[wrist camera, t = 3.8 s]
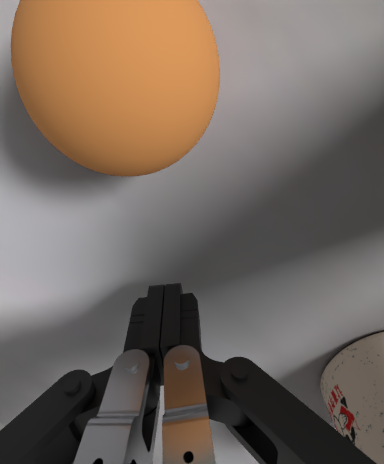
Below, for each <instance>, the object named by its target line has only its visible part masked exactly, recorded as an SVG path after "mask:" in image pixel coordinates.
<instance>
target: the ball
mask: <svg viewBox="0 0 384 464" xmlns="http://www.w3.org/2000/svg"><path fill="white" fill-rule="evenodd" d="M11 61H12V67H13V73H14V78H15V82H16V85H17V89H18V92H19V94H20V97H21V99H22V102H23V104H24V106H25V108H26V110H27V112H28V114H29V116H30V117H31V119H32V120H33V122H34V123H35V125H36V126H37V128H38V129H39V130H40V131H41V133H42V134H43V135H44V136H45V137H46V139H47V140H48V141H49V142H50V143H51V144H52V145H53V146H55V147H56V148H57V149H58V150H59V151H60V152H62V153H63V154H64V155H65V156H67V157H68V158H70V159H71V160H73V161H75V162H76V163H78V164H80V165H82V166H84V167H86V168H88V169H91V170H94V171H97V172H99V173H103V174H108V175H113V176H140V175H146V174H150V173H154V172H157V171H160V170H162V169H164V168H166V167H169V166H170V165H172V164H174V163H175V162H177V161H178V160H180V159H181V158H182V157H183V156H184V155H186V154H187V153H188V152H189V151H190V150H191V149H192V148H193V147H194V146H195V145H196V143H197V142H198V141H199V139H200V138H201V137H202V135H203V134H204V132H205V130H206V128H207V126H208V125H209V123H210V120H211V118H212V115H213V113H214V110H215V106H216V102H217V98H218V91H219V84H220V66H219V55H218V50H217V45H216V41H215V37H214V34H213V31H212V28H211V25H210V23H209V21H208V19H207V16H206V14H205V12H204V10H203V8H202V7H201V5H200V4H199V2H198V0H20V2H19V5H18V8H17V11H16V13H15V17H14V22H13V27H12V35H11Z"/></svg>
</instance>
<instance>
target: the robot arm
mask: <svg viewBox="0 0 384 464" xmlns="http://www.w3.org/2000/svg"><path fill="white" fill-rule="evenodd" d="M162 385H164V404H165V413H164V415H163V419H162V439H163V464H215V457H214V450H213V443H212V436H211V429H210V422H209V419H211V420H215V421H218V422H222V423H225V425H226V427H227V428H228V429H229V430H230V432H231V433H232V434H233V435H234V436H235V437H236V438H237V439H238V440H239V442H240V443H241V444H242V445H243V446H244V447H245V448H246V449H247V450H248V451H249V453H250V454H251V455H252V456H253V457H254V458H255V459H256V460H257V461H258V463H259V464H377V463H376V462H374V461H373V460H372V459H371V458H369V457H368V456H367V455H366V454H365V453H363V452H362V451H361V450H360V449H358V448H357V447H356V446H355V445H354V444H352V443H351V442H350V441H349V440H347V439H346V438H345V437H344V436H343V435H341V434H340V433H339V432H338V431H336V430H335V429H334V428H333V427H332V426H330V425H329V424H328V423H327V422H325V421H324V420H323V419H322V418H321V417H319V416H318V415H317V414H316V413H314V412H313V411H312V410H311V409H310V408H308V407H307V406H306V405H305V404H303V403H302V402H301V401H300V400H299V399H297V398H296V397H295V396H294V395H292V394H291V393H290V392H289V391H288V390H286V389H285V388H284V387H283V386H281V385H280V384H279V383H278V382H277V381H275V380H274V379H273V378H272V377H270V376H269V375H268V374H267V373H266V372H264V371H263V370H262V369H261V368H259V367H258V366H257V365H256V364H255V363H253V362H252V361H251V360H249V359H247V358H244V357H233V358H230V359H228V360H227V361H225V362H224V363H223V362H218V361H214V360H212V359H210V358H208V357H207V356H205V355H204V353H203V352H202V347H201V332H200V319H199V311H198V302H197V299H196V298H195V296H194V295H193V293H187V294H183V293H182V286H181V283H176V284H166V285H155V286H149V289H148V295H147V297H144V298H138V300H137V301H136V303H135V304H134V305H133V308H132V312H131V317H130V322H129V327H128V331H127V336H126V341H125V346H124V351H123V353H122V354H121V355H120V356H119V357H118V358H117V359H116V361H115V363H114V365H113V366H112V367H111V368H109V369H107V370H105V371H103V372H100V373H97V374H95V375H92V376H91V375H90V374H89V373H88V372H87V371H85V370H74V371H71V372H69V373H67V374H65V375H64V376H63V377H61V378H60V379H59V380H58V381H57V382H56V383H55V384H53V385H52V386H51V387H50V388H49V389H48V390H47V391H45V392H44V393H43V394H42V395H41V396H40V397H39V398H37V399H36V400H35V401H34V402H33V403H32V404H31V405H29V406H28V407H27V408H26V409H25V410H24V411H23V412H21V413H20V414H19V415H18V416H17V417H16V418H14V419H13V420H12V421H11V422H10V423H9V424H8V425H6V426H5V427H4V428H3V429H2V430H1V431H0V464H153V452H154V445H155V438H156V431H157V424H158V417H159V409H160V400H159V398H160V386H162Z"/></svg>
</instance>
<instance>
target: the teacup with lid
mask: <svg viewBox="0 0 384 464" xmlns="http://www.w3.org/2000/svg"><path fill="white" fill-rule="evenodd" d="M320 389H321V393H322V396H323V399H324V401H325V404H326V406H327V408H328V411H329V413H330V415H331V418H332V420H333V423H334V425H335V427H336V430H337V431H338V432H339V433H340V434H341V435H343V436H344V437H345V438H346V439H347V440H349V441H350V442H351V443H352V444H354V445H355V446H356V447H357V448H358V449H360V450H361V451H362V452H363V453H365V454H366V455H367V456H368V457H369V458H371V459H372V460H373V461H374V462H376V463H377V464H384V332H380V333H377V334H373V335H371V336H368V337H365V338H363V339H360V340H358V341H356V342H354V343H353V344H351V345H349V346H348V347H346V348H345V349H343V350H342V351H341V352H339V353H338V354H337V355H336V356H335V357H334V358H333V359H332V360H331V361H330V362H329V363H328V365H327V366H326V368H325V370H324V372H323V374H322V377H321V381H320Z"/></svg>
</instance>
